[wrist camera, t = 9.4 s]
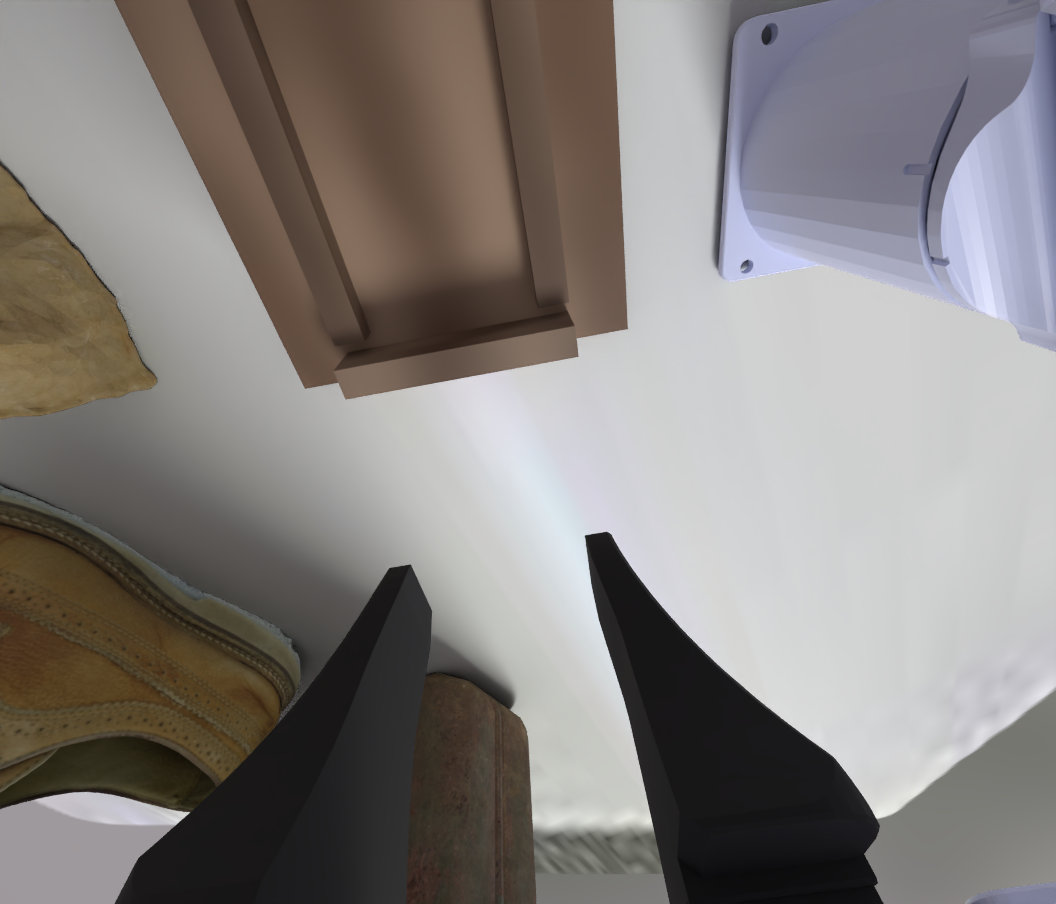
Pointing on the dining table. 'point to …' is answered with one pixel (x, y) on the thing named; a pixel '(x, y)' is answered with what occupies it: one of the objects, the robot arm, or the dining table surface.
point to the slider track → (406, 174)
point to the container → (469, 800)
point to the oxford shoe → (123, 669)
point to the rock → (55, 319)
